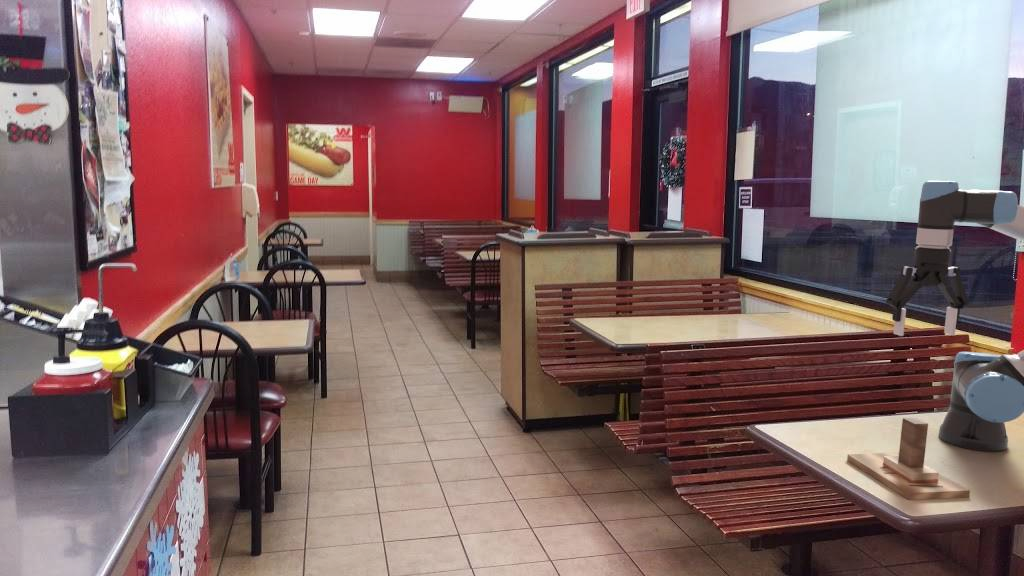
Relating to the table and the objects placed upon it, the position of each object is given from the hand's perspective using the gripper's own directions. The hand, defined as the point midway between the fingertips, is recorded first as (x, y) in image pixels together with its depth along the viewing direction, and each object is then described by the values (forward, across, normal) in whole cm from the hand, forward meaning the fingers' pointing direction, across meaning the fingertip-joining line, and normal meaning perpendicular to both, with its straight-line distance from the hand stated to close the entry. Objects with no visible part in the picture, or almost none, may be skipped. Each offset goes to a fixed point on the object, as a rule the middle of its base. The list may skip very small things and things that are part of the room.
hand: (923, 334), depth 186 cm
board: (+29, +14, +17) cm, 36 cm away
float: (+27, +14, +18) cm, 36 cm away
